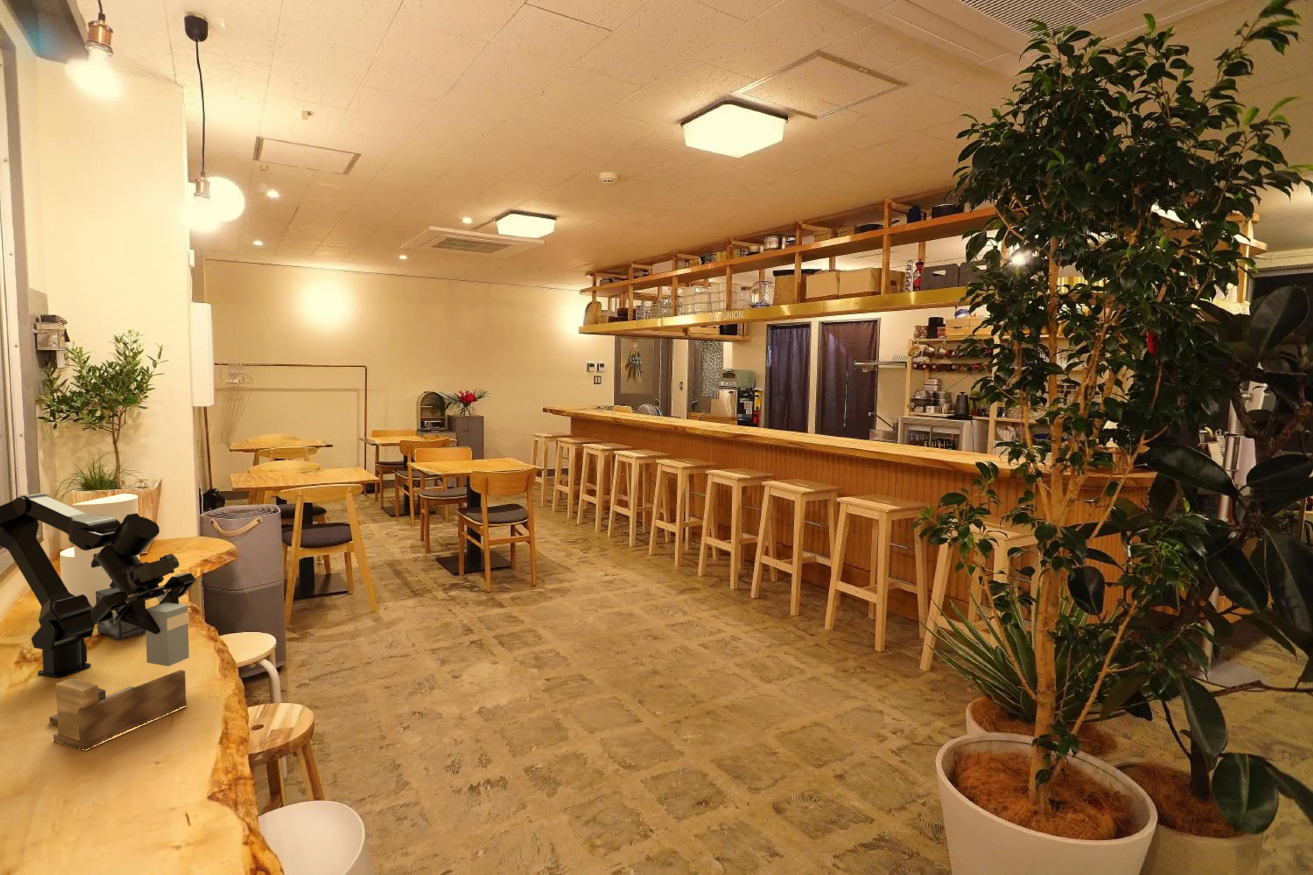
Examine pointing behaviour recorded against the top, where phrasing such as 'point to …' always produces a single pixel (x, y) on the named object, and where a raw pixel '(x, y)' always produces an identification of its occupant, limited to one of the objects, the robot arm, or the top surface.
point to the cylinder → (78, 561)
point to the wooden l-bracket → (112, 708)
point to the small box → (116, 622)
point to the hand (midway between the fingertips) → (169, 628)
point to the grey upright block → (168, 634)
